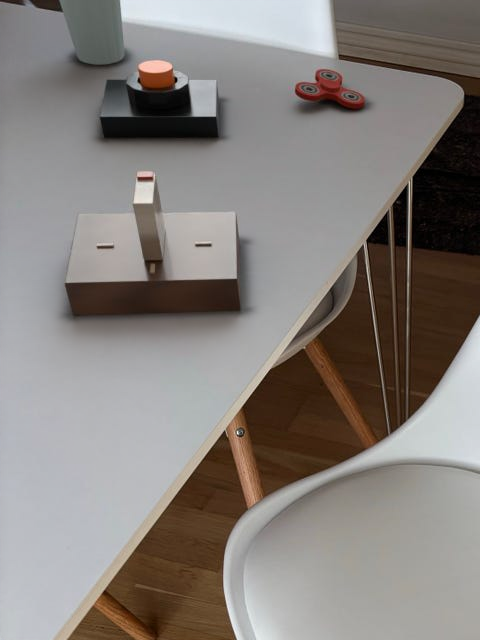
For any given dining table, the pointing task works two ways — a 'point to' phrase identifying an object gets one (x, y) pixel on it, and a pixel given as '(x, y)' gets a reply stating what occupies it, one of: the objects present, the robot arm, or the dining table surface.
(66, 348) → the dining table surface
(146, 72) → the button
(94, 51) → the cup
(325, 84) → the fidget spinner
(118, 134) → the button block
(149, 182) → the red-tipped white slab
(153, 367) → the dining table surface
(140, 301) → the panel
